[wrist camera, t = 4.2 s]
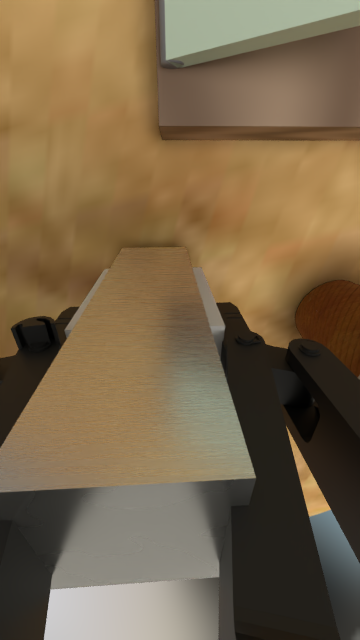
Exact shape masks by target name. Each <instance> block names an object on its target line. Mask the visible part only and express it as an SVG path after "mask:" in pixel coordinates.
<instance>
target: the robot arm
mask: <svg viewBox="0 0 360 640" xmlns="http://www.w3.org/2000/svg"><path fill="white" fill-rule="evenodd" d="M192 269H193V272H194V275H195V278H196V282H197V285H198V288H199V292H200V295H201V298H202V301H203V305H204V308H205V311H206V315H207V318H208V321H209V324H210V328H211V331H212V334H213V338H214V341H215V344H216V348H217V351H218V354H219V357H220V361H221V364H222V367H223V371H224V374H225V377H226V380H227V384H228V387H229V390H230V394H231V397H232V400H233V403H234V407H235V410H236V413H237V417H238V420H239V423H240V426H241V430H242V433H243V436H244V440H245V443H246V446H247V450H248V453H249V456H250V459H251V463H252V466H253V469H254V473H255V476H256V481H255V484H254V488H253V492H252V495H251V499H250V503H249V505H242V506H231V508H230V513H229V518H228V523H227V528H226V533H225V538H224V543H223V548H222V553H221V558H220V563H219V640H340V637H339V633H338V630H337V626H336V622H335V618H334V614H333V610H332V606H331V602H330V599H329V595H328V590H327V587H326V582H325V578H324V575H323V571H322V567H321V563H320V559H319V555H318V551H317V547H316V543H315V539H314V535H313V531H312V527H311V523H310V520H309V515H308V511H307V507H306V503H305V499H304V495H303V491H302V487H301V483H300V479H299V475H298V471H297V468H296V464H295V460H294V456H293V452H292V448H291V444H290V440H289V436H288V432H287V428H288V429H289V431H290V433H291V435H292V437H293V439H294V441H295V443H296V444H297V446H298V448H299V450H300V452H301V454H302V456H303V458H304V459H305V461H306V463H307V465H308V467H309V469H310V471H311V473H312V474H313V476H314V478H315V480H316V482H317V484H318V486H319V488H320V490H321V491H322V493H323V495H324V497H325V499H326V501H327V503H328V505H329V506H330V508H331V510H332V512H333V514H334V516H335V517H336V520H337V521H338V523H339V525H340V527H341V529H342V531H343V533H344V534H345V536H346V538H347V540H348V542H349V544H350V546H351V548H352V549H353V551H354V553H355V555H356V557H357V559H358V561H359V563H360V379H359V378H358V377H356V376H355V375H354V374H353V373H352V372H351V371H350V370H349V369H348V368H347V367H346V366H345V365H344V364H343V363H342V362H341V361H340V360H339V359H338V358H337V357H336V356H335V355H334V354H333V353H332V352H331V351H330V350H329V349H328V348H327V347H325V346H324V345H323V344H321V343H318V342H316V341H314V340H310V339H295V340H292V341H291V342H290V343H289V346H288V349H286V348H280V347H274V346H269V345H266V344H265V341H264V339H263V338H262V337H261V336H260V335H258V334H257V333H254V332H252V331H250V329H249V328H248V326H247V324H246V322H245V321H244V319H243V317H242V315H241V314H240V312H239V310H238V308H237V307H236V306H235V305H233V304H232V303H230V302H227V303H216V302H215V300H214V297H213V295H212V292H211V290H210V287H209V285H208V282H207V280H206V277H205V275H204V273H203V270H202V268H201V267H193V268H192ZM108 270H109V269H104V271H103V272H102V274H101V275H100V277H99V278H98V280H97V282H96V283H95V285H94V286H93V288H92V289H91V291H90V292H89V294H88V295H87V297H86V298H85V300H84V301H83V303H82V304H81V306H80V307H70V308H68V309H66V310H65V311H63V312H62V313H61V314H60V315H59V317H58V318H57V319H56V321H54V319H52V318H51V317H46V316H40V317H33V318H28V319H25V320H22V321H20V322H18V323H17V324H15V325H14V326H13V327H12V328H11V331H12V333H13V336H14V338H15V341H16V343H17V346H18V348H19V350H18V352H17V354H16V355H14V356H10V357H5V358H1V359H0V448H1V446H2V444H3V443H4V441H5V439H6V438H7V436H8V435H9V433H10V431H11V430H12V428H13V426H14V425H15V423H16V421H17V420H18V418H19V417H20V415H21V413H22V412H23V410H24V408H25V407H26V405H27V403H28V402H29V400H30V398H31V397H32V395H33V394H34V392H35V390H36V389H37V387H38V385H39V384H40V382H41V380H42V379H43V377H44V375H45V374H46V372H47V371H48V369H49V367H50V366H51V364H52V362H53V361H54V359H55V357H56V356H57V354H58V353H59V351H60V349H61V348H62V346H63V344H64V343H65V341H66V339H67V338H68V336H69V334H70V333H71V331H72V330H73V328H74V326H75V325H76V323H77V321H78V320H79V318H80V316H81V315H82V313H83V312H84V310H85V308H86V307H87V305H88V303H89V302H90V300H91V298H92V297H93V295H94V293H95V292H96V290H97V289H98V287H99V285H100V284H101V282H102V280H103V279H104V277H105V275H106V274H107V272H108ZM286 426H287V428H286ZM51 580H52V575H51V573H50V572H49V570H48V569H47V567H46V566H45V565H44V563H43V562H42V560H41V559H40V558H39V556H38V555H37V553H36V552H35V551H34V549H33V548H32V546H31V545H30V544H29V542H28V541H27V539H26V538H25V537H24V535H23V534H22V532H21V531H20V530H19V528H18V527H17V525H16V524H15V522H14V521H13V520H2V521H0V640H44V633H45V625H46V618H47V610H48V602H49V595H50V588H51Z"/></svg>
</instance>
